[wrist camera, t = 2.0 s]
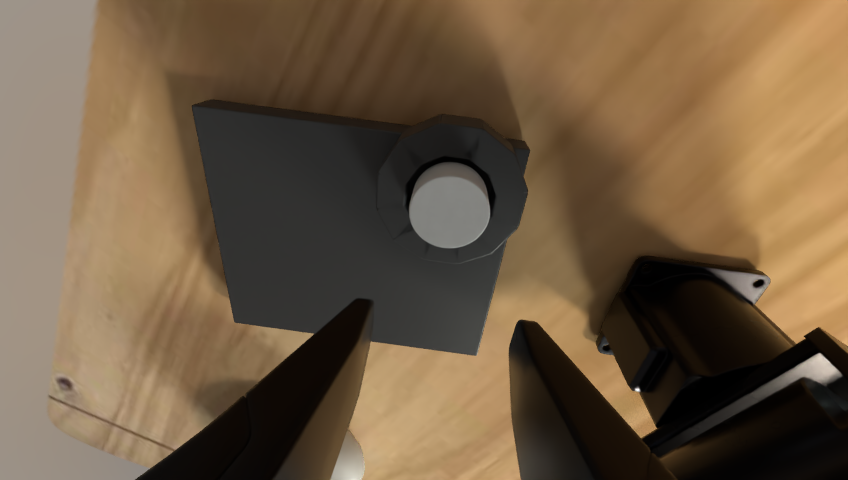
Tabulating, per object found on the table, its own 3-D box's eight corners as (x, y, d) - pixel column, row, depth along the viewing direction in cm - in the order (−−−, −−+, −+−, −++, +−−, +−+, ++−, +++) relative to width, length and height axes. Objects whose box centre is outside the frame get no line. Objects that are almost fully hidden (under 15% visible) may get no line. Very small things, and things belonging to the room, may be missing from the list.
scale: (530, 118, 16) (545, 136, 13) (475, 338, 22) (478, 379, 20) (206, 75, 16) (157, 85, 13) (245, 307, 23) (218, 343, 20)
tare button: (494, 166, 14) (498, 181, 13) (479, 234, 16) (481, 253, 15) (416, 156, 14) (412, 170, 13) (409, 224, 16) (405, 243, 15)
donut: (286, 376, 26) (218, 436, 30) (264, 422, 23) (192, 481, 27) (395, 443, 29) (320, 489, 33) (389, 491, 26) (307, 535, 30)
